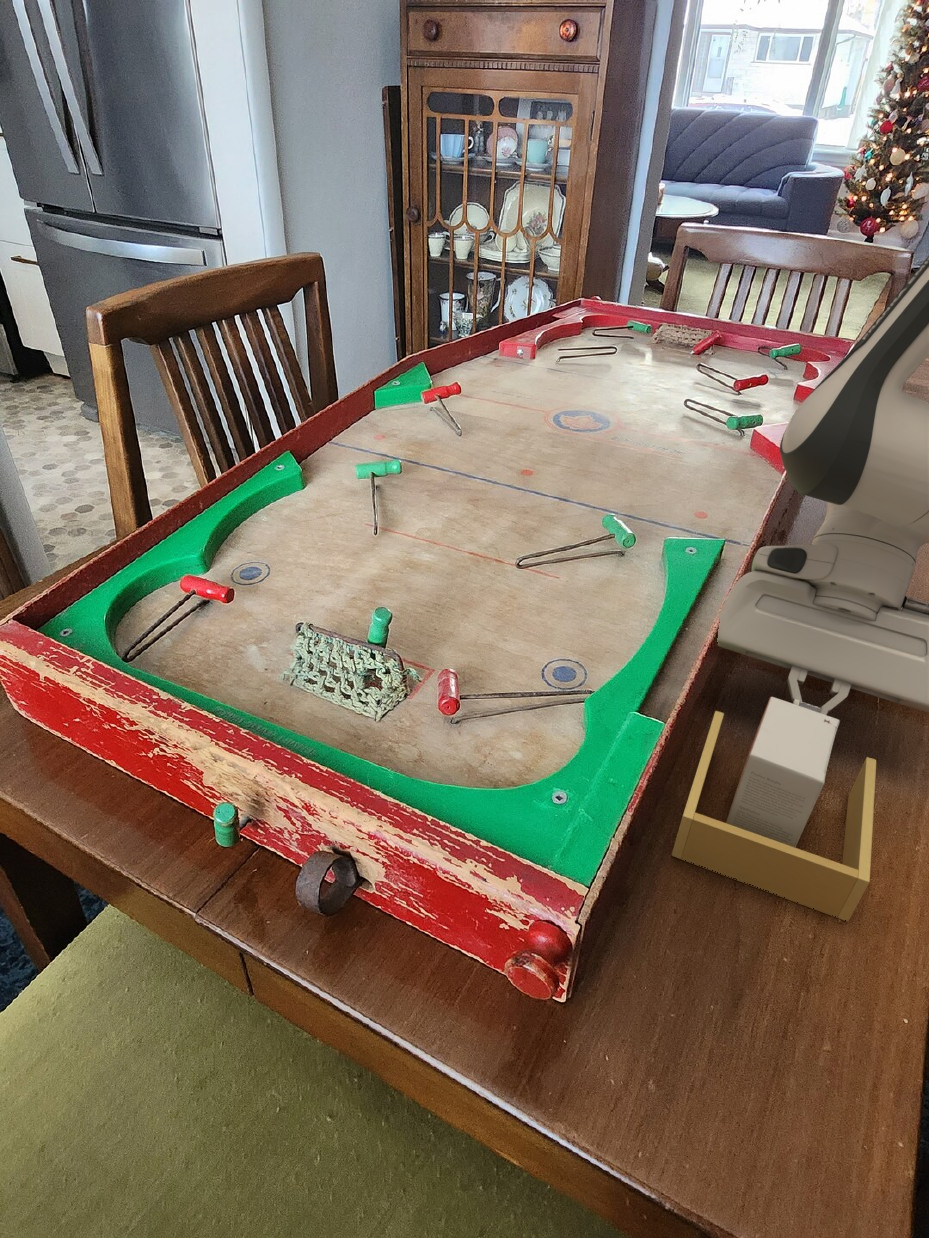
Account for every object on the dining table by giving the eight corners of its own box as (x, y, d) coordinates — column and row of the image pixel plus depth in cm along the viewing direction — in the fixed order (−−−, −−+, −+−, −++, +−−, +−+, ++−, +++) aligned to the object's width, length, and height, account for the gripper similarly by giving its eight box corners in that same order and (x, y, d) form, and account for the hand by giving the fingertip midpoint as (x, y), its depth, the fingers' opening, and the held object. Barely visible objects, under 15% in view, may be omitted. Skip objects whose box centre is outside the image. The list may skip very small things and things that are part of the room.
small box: (740, 780, 71) (770, 693, 65) (804, 805, 69) (841, 717, 62) (717, 842, 65) (747, 753, 59) (786, 871, 63) (825, 782, 57)
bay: (704, 749, 74) (715, 710, 71) (857, 799, 69) (876, 759, 66) (671, 856, 64) (682, 815, 61) (848, 922, 59) (869, 882, 56)
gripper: (970, 624, 70) (923, 769, 69) (741, 562, 78) (695, 691, 77) (991, 608, 64) (940, 766, 63) (741, 543, 72) (692, 682, 71)
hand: (804, 724), depth 70 cm, fingers closed
